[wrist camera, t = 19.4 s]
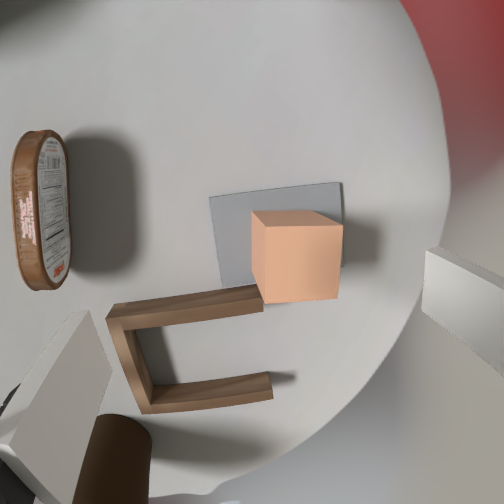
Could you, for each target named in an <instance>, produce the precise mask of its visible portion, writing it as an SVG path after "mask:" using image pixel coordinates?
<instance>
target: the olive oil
mask: <svg viewBox="0 0 504 504" xmlns="http://www.w3.org/2000/svg"><path fill="white" fill-rule="evenodd" d="M151 449H152V439H151V437H150V435H149V433H148V432H147V431H146V429H145V428H143V427H142V426H141V425H140V424H138V423H137V422H135V421H133V420H131V419H129V418H126V417H123V416H119V415H113V414H106V415H100V416H97V417H96V420H95V423H94V426H93V430H92V433H91V436H90V439H89V442H88V446H87V449H86V453H85V456H84V459H83V463H82V467H81V470H80V474H79V477H78V481H77V485H76V489H75V493H74V497H73V501H72V504H148V495H149V473H150V460H151Z"/></svg>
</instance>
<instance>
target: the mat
mask: <svg viewBox="0 0 504 504" xmlns="http://www.w3.org/2000/svg"><path fill="white" fill-rule="evenodd" d="M209 200H210V207H211V214H212V221H213V228H214V235H215V242H216V248H217V255H218V261H219V268H220V274H221V280H222V286H223V287H225V286H232V285H238V284H245V283H251V282H256V281H255V278H254V276H253V273H252V218H251V211H287V210H312V211H314V212H316V213H318V214H320V215H323V216H325V217H327V218H329V219H331V220H333V221H335V222H337V223H339V224H341V225H342V211H341V196H340V183H339V182H333V183H322V184H312V185H303V186H293V187H285V188H276V189H268V190H260V191H252V192H244V193H237V194H229V195H222V196H215V197H209ZM341 267H344V252H343V238H342V253H341V266H340V268H341Z"/></svg>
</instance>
